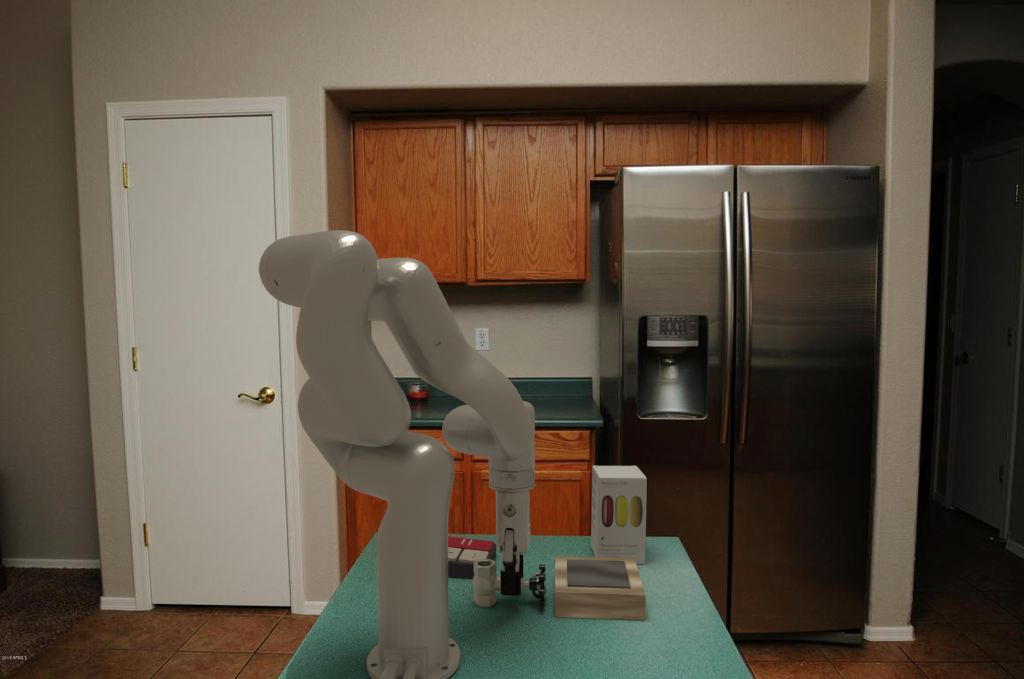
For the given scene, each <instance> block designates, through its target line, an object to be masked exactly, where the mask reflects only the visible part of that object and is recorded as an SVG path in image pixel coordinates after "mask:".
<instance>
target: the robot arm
mask: <svg viewBox="0 0 1024 679" xmlns="http://www.w3.org/2000/svg"><path fill="white" fill-rule="evenodd" d="M258 265H259V266H258V273H259V278H260V281H261V284H262V286H263V287H264V289H265V290H266V292H268V294H269V295H271V296H272V297H273V298H274V299H276V300H277V301H278V302H280V303H283V304H286V305H289V306H290V307H291V306H292V307H296V308H300V310H299V316H298V322H297V326H296V333H295V334H296V335H295V336H296V337H295V344H296V345H295V346H296V351H297V356H298V359H299V361H300V363H301V365H302V367H303V369H304V370H305V373H306V374H307V376H308V377H309V378H308V379H307V380H306V381H305V382H304V384H302V385H303V386H302V387H301V389H300V392H299V394H298V399H297V413H298V417H299V421H300V424H301V426H302V428H303V430H304V432H305V433H306V436H308V438H309V439H310V441H312V443H313V444H314V446H315V447H316V448H317V450H318V451H319V453H320V454H321V455H322V457H323V458H324V460H325V461H326V462H327V464H328V465H329V467H330V468H331V469H332V470H333V472H335V474H336V475H337V477H339V478H340V480H341V481H342V482H343V483H344V484H345V485H346V486H347V487H349V488H350V489H352V490H353V491H356V492H358V493H361V494H365V495H368V496H371V497H375V498H379V499H381V500H384V501H386V502H387V506H386V507H387V508H386V511H385V514H384V516H383V517H382V519H381V521H380V524H379V527H378V531H377V535H376V561H377V562H376V563H377V564H376V565H377V566H376V569H377V570H376V572H377V578H376V579H377V628H378V629H377V633H378V634H377V635H378V636H377V638H378V640H377V641H378V644H376V645H375V646H374V647H373V648H372V649H371V650H370V652H369V653H368V655H367V659H366V671H367V674H368V676H369V677H370V678H371V679H449V678H450V677H451V676H452V675H453V674H454V673H455V672H456V671H457V670H458V669H459V666H460V664H461V650H460V647H459V645H458V643H457V642H456V641H455V640H454V639H452V638H451V637H450V621H449V620H450V613H449V610H450V607H449V605H450V604H449V602H450V601H449V598H450V597H449V578H448V536H449V514H450V504H451V497H452V493H453V488H454V482H455V477H456V476H455V475H456V465H455V464H456V463H455V459H454V456H453V453H452V452H451V450H450V449H449V448H451V449H452V450H453V451H456V452H458V453H462V454H466V455H471V456H477V457H484V458H488V488H490V489H491V490H492V491H495V528H496V529H495V530H496V551H497V552H498V553H499V554H501V569H500V576H501V592H500V595H502V596H511V597H512V596H514V597H518V596H521V595H522V593H521V592H522V590H521V578H523V579H524V555H526V554H527V553H528V552H529V547H530V541H531V518H530V517H531V514H530V513H531V512H530V511H531V508H530V507H531V506H530V504H531V503H530V502H531V501H530V500H531V499H530V491H531V490H533V489H535V487H536V441H535V440H536V438H535V437H536V428H535V426H536V424H535V423H536V421H535V420H536V415H535V413H536V412H535V407H534V406H533V405H532V403H530V402H528V401H525V400H523V399H522V397H521V395H520V393H519V392H518V389H517V388H516V386H515V385H514V384H513V383H512V382H511V380H510V379H509V378H508V377H507V376H506V375H505V374H504V373H503V372H502V371H501V370H499V369H498V367H496V366H495V365H494V364H493V363H491V362H490V361H489V360H488V359H487V358H486V357H485V356H483V355H482V354H481V353H480V352H478V351H477V349H474V348H473V347H472V346H471V345H470V344H469V343H468V341H467V340H466V338H465V336H464V334H463V332H462V329H461V328H460V326H459V324H458V323H457V320H456V318H455V317H454V314H453V312H452V311H451V308H450V307H449V304H448V301H447V299H446V298H445V296H444V295H443V292H442V290H441V288H440V286H439V284H438V282H437V280H436V279H435V276H434V275H433V273H432V271H431V270H430V268H429V267H428V266H427V265H426V264H425V263H423V262H422V261H421V260H418V259H415V258H411V257H387V258H378V256H377V253H376V250H375V248H374V246H373V244H372V243H371V241H369V240H368V239H367V238H366V237H365V236H364V235H362V234H360V233H358V232H355V231H351V230H344V229H342V230H341V229H339V230H338V229H336V230H335V229H332V230H325V231H317V232H312V233H311V232H310V233H304V234H295V235H291V236H290V235H289V236H285V237H282V238H279V239H277V240H275V241H273V242H272V243H271V244H269V245H268V246H267V247H266V249H265V250H264V251H263V253H262V255H261V257H260V259H259V263H258ZM369 321H372V322H375V321H376V322H377V321H378V322H384V323H385V325H386V326H387V328H388V330H389V331H390V333H391V335H392V336H393V338H394V340H395V341H396V343H397V344H398V347H399V348H400V350H401V351H402V353H403V356H404V357H405V359H406V360H407V362H408V364H409V365H410V367H411V370H412V371H413V372H414V374H415V375H416V376H417V377H418V378H420V379H421V380H422V381H424V382H426V383H427V384H429V385H431V386H432V387H433V388H436V389H438V390H440V391H442V392H444V393H445V394H448V395H450V396H453V397H454V398H456V399H458V400H460V401H461V402H463V403H465V404H463V405H460V406H457V407H456V408H455V407H454V408H453V409H452V410H451V411H450V412H449V413H448V414H447V415H446V416H445V418H444V420H443V422H442V426H441V427H442V428H441V429H442V430H441V431H442V432H441V434H442V437H443V440H444V442H445V444H444V443H443V442H442V441H441V440H440V439H437V438H435V437H433V436H431V435H427V434H424V433H419V432H413V431H409V429H410V425H411V423H412V422H411V421H412V411H411V408H410V404H409V401H408V399H407V396H406V394H405V393H404V391H403V389H402V387H401V385H400V384H399V383H398V381H397V379H396V377H395V376H394V374H393V372H392V371H391V370H390V368H389V366H388V364H387V362H386V361H385V360H384V358H383V356H382V355H381V353H380V351H379V349H378V348H377V346H376V344H375V341H374V340H373V338H372V335H371V333H370V328H369Z"/></svg>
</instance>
